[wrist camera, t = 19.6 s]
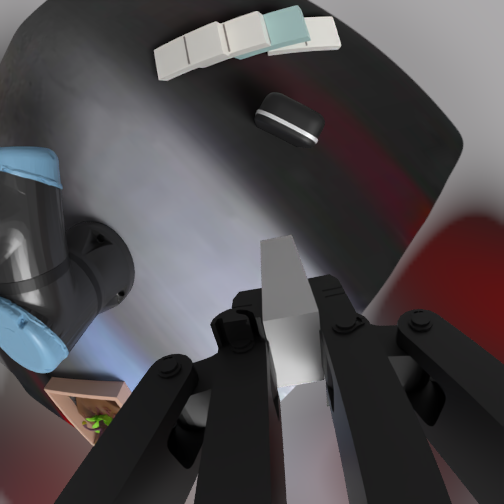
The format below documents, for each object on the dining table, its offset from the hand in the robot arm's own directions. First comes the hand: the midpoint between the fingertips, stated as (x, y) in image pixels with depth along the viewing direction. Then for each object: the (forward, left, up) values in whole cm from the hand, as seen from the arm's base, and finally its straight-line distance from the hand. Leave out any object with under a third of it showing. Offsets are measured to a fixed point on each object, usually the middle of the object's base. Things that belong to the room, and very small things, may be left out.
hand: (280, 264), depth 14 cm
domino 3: (0, +21, -26) cm, 33 cm away
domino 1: (-10, +21, -26) cm, 35 cm away
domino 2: (-5, +21, -26) cm, 34 cm away
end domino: (+4, +21, -26) cm, 33 cm away
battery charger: (+4, +8, -27) cm, 28 cm away
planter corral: (-50, -46, -26) cm, 73 cm away
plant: (-50, -46, -27) cm, 73 cm away
